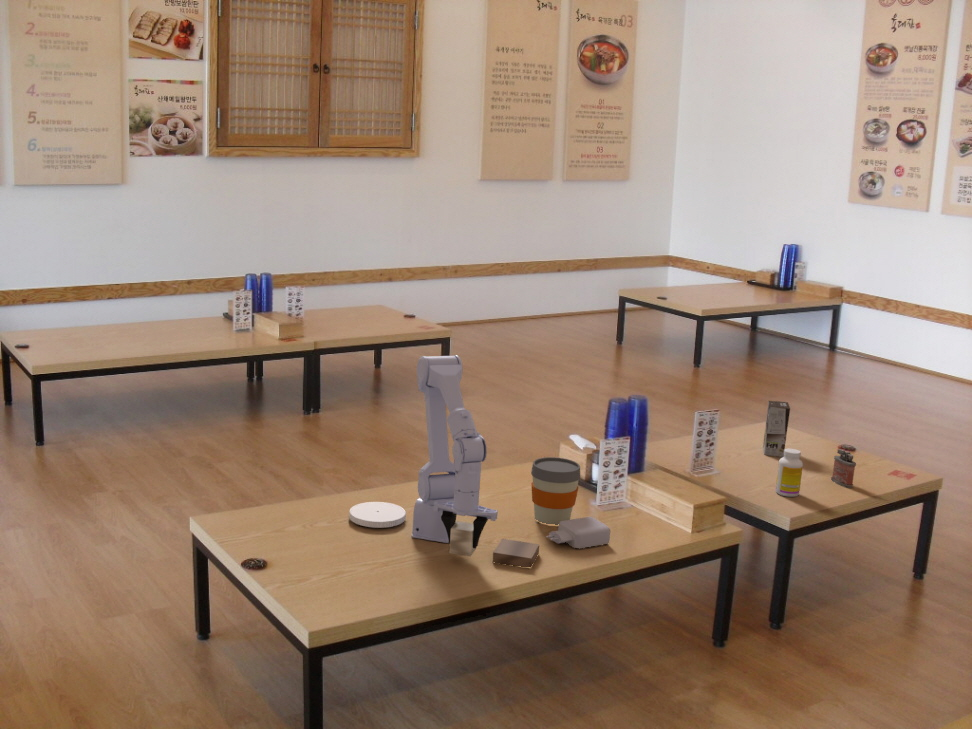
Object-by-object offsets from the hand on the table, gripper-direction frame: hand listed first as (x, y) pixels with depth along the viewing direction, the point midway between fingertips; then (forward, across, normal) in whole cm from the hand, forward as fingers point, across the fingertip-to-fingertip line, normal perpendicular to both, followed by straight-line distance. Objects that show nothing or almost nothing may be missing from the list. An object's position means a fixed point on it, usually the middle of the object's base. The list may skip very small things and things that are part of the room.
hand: (463, 544), depth 249 cm
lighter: (+5, +89, +101) cm, 135 cm away
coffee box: (+5, +69, +125) cm, 143 cm away
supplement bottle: (+5, +73, +84) cm, 111 cm away
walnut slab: (+5, +11, +7) cm, 14 cm away
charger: (+5, +22, +22) cm, 31 cm away
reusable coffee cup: (+5, +14, +35) cm, 38 cm away
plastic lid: (+5, -27, +17) cm, 32 cm away
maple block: (+2, 0, 0) cm, 2 cm away
